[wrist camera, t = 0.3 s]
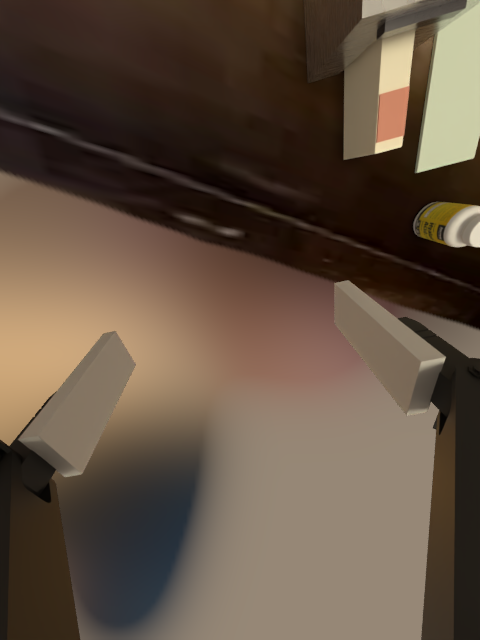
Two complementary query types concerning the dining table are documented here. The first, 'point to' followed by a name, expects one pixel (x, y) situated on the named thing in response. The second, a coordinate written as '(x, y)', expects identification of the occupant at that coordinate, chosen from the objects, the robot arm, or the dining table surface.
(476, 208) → the supplement bottle
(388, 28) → the plate
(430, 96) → the pad
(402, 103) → the cream rectangular block
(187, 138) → the dining table surface
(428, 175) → the dining table surface
